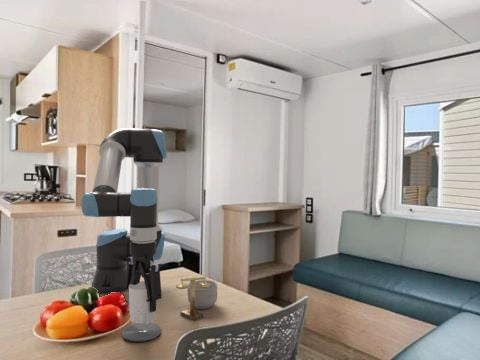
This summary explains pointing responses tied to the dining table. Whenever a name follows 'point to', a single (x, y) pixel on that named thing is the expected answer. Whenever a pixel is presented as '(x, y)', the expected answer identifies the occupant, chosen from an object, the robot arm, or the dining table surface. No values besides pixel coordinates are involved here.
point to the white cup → (138, 302)
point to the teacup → (204, 294)
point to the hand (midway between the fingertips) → (142, 318)
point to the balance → (192, 297)
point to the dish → (141, 332)
